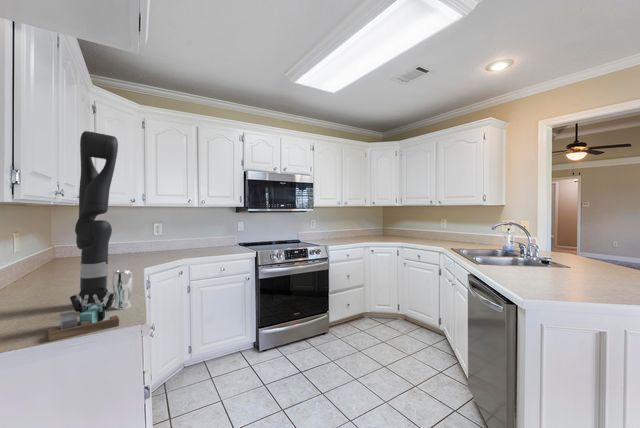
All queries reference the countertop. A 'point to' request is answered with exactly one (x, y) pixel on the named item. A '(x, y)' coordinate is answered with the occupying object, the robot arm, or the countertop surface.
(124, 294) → the beer glass
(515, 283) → the countertop surface
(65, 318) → the charcoal plug
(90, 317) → the teal plug
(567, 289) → the countertop surface
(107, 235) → the robot arm
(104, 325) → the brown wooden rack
